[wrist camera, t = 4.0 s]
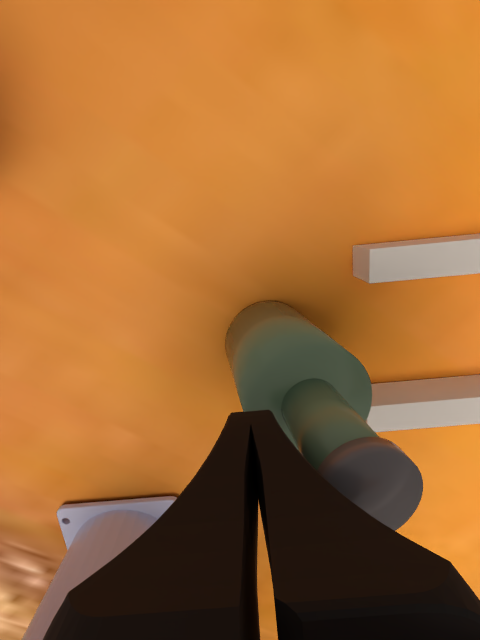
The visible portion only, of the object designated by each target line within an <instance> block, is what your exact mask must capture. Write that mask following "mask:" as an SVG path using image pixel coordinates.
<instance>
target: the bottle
mask: <svg viewBox="0 0 480 640" xmlns="http://www.w3.org/2000/svg"><path fill="white" fill-rule="evenodd" d="M225 349H226V354H227V358H228V361H229V365H230V368H231V371H232V375H233V378H234V381H235V385H236V388H237V392H238V395H239V398H240V402H241V405H242V408H243V412H247V411H258V410H270V411H271V412H273V414H274V416H275V418H276V420H277V422H278V423H279V425H280V427H281V428H282V430H283V431H284V433H285V434H286V435H287V437H288V438H289V439H290V441H291V442H292V443H293V444H294V446H295V447H296V448H297V449H298V451H299V452H300V453H301V454H302V455H303V457H304V458H305V459H306V460H307V461H308V462H309V463H310V464H311V465H312V466H313V467H314V468H315V469H316V470H317V471H318V473H320V474H321V475H322V476H323V477H324V478H325V479H326V480H327V481H328V482H329V483H330V484H331V485H332V486H333V487H335V488H336V489H337V490H338V491H339V492H340V493H342V494H343V495H344V496H345V497H346V498H348V499H349V500H350V501H352V502H353V503H354V504H356V505H357V506H358V507H360V508H361V509H363V510H364V511H365V512H367V513H368V514H369V515H371V516H372V517H374V518H375V519H377V520H378V521H380V522H381V523H383V524H384V525H386V526H388V527H389V528H391V529H392V530H394V531H395V530H397V529H398V528H399V527H401V526H402V525H403V524H404V523H405V522H406V521H407V520H408V519H409V518H410V517H411V516H412V514H413V513H414V512H415V510H416V508H417V507H418V505H419V502H420V500H421V496H422V491H423V481H422V476H421V473H420V471H419V469H418V467H417V466H416V465H415V464H414V463H413V462H412V461H411V459H410V458H409V457H408V456H407V455H406V454H405V453H404V452H403V451H402V450H401V449H400V448H399V447H398V446H397V445H396V444H394V443H393V442H391V441H389V440H387V439H383V438H380V437H379V436H378V435H377V434H376V433H375V432H374V431H373V430H372V429H371V427H370V426H369V425H368V424H367V423H366V420H367V418H368V415H369V412H370V409H371V404H372V386H371V381H370V378H369V376H368V373H367V371H366V370H365V368H364V366H363V365H362V364H361V362H360V361H359V360H358V359H357V358H356V357H355V356H353V355H352V354H351V353H349V352H348V351H347V350H346V349H344V348H343V347H342V346H341V345H339V344H338V343H337V342H336V341H334V340H333V339H332V338H330V337H329V336H328V335H327V334H325V333H324V332H323V331H322V330H320V329H319V328H318V327H316V326H315V325H314V324H313V323H311V322H310V321H309V320H308V319H306V318H305V317H304V316H302V315H301V314H300V313H299V312H297V311H296V310H295V309H293V308H292V307H290V306H288V305H286V304H284V303H281V302H276V301H264V302H259V303H256V304H253V305H251V306H249V307H247V308H246V309H244V310H243V311H241V312H240V313H239V314H238V315H237V316H236V317H235V318H234V320H233V321H232V323H231V325H230V326H229V329H228V331H227V335H226V340H225Z"/></svg>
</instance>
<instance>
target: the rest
mask: <svg viewBox="0 0 480 640" xmlns="http://www.w3.org/2000/svg"><path fill="white" fill-rule="evenodd" d="M477 273H480V234H469V235H459V236H448V237H437V238H427V239H416V240H406V241H395V242H385V243H374V244H364V245H353V276H355V277H357V278H359V279H361V280H363V281H365V282H367V283H380V282H391V281H401V280H412V279H423V278H434V277H445V276H455V275H466V274H477ZM371 386H372V404H371V409H370V412H369V415H368V418H367V420H366V423H367V424H368V425H369V426H370V427H371V429H372V430H373V431H374V432H384V431H396V430H408V429H420V428H432V427H443V426H455V425H467V424H479V423H480V375H468V376H457V377H445V378H434V379H422V380H411V381H399V382H388V383H376V384H371Z"/></svg>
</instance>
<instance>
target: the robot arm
mask: <svg viewBox="0 0 480 640" xmlns="http://www.w3.org/2000/svg"><path fill="white" fill-rule="evenodd" d="M258 500H259V506H260V511H261V517H262V523H263V528H264V534H265V540H266V545H267V551H268V557H269V563H270V568H271V575H272V582H273V590H274V600H275V611H276V621H277V631H278V640H480V600H479V599H478V597H477V596H476V595H475V593H474V592H473V591H472V589H471V588H470V587H469V585H468V584H467V583H466V582H465V580H464V579H463V578H462V576H461V575H460V574H459V573H458V571H457V570H456V569H455V567H454V566H453V565H452V564H451V562H450V561H448V560H446V559H444V558H442V557H440V556H439V555H437V554H435V553H433V552H431V551H429V550H428V549H426V548H424V547H422V546H420V545H418V544H417V543H415V542H413V541H411V540H409V539H407V538H405V537H404V536H402V535H400V534H399V533H397V532H395V531H394V530H392V529H391V528H389V527H388V526H386V525H384V524H383V523H381V522H380V521H378V520H377V519H375V518H374V517H372V516H371V515H369V514H368V513H367V512H365V511H364V510H363V509H361V508H360V507H358V506H357V505H356V504H354V503H353V502H352V501H350V500H349V499H348V498H346V497H345V496H344V495H343V494H342V493H340V492H339V491H338V490H337V489H336V488H335V487H333V486H332V485H331V484H330V483H329V482H328V481H327V480H326V479H325V478H324V477H323V476H322V475H321V474H320V473H318V471H317V470H316V469H315V468H314V467H313V466H312V465H311V464H310V463H309V462H308V461H307V460H306V459H305V458H304V457H303V455H302V454H301V453H300V452H299V451H298V449H297V448H296V447H295V446H294V444H293V443H292V442H291V441H290V439H289V438H288V437H287V435H286V434H285V433H284V431H283V430H282V428H281V427H280V425H279V423H278V422H277V420H276V418H275V416H274V414H273V412H271V411H270V410H258V411H247V412H235V413H231V414H230V415H229V416H228V419H227V422H226V424H225V426H224V428H223V430H222V432H221V434H220V436H219V438H218V440H217V442H216V444H215V445H214V447H213V449H212V451H211V452H210V454H209V456H208V457H207V459H206V460H205V462H204V463H203V465H202V466H201V468H200V469H199V471H198V472H197V474H196V475H195V476H194V478H193V479H192V480H191V482H190V483H189V484H188V486H187V487H186V488H185V489H184V491H183V492H182V493H181V494H180V495H179V497H178V498H177V497H174V496H165V497H152V498H140V499H128V500H115V501H103V502H91V503H78V504H66V505H62V506H60V508H59V509H58V511H57V517H58V521H59V524H60V527H61V530H62V534H63V537H64V540H65V543H66V547H67V550H68V551H67V553H66V555H65V557H64V559H63V561H62V562H61V564H60V566H59V568H58V570H57V572H56V574H55V576H54V578H53V580H52V582H51V584H50V586H49V588H48V590H47V592H46V593H45V595H44V597H43V599H42V601H41V603H40V605H39V607H38V609H37V611H36V613H35V615H34V617H33V619H32V621H31V623H30V625H29V626H28V628H27V630H26V632H25V634H24V636H23V638H22V640H260V630H259V613H258V596H257V539H258ZM67 518H68V519H67Z"/></svg>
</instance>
